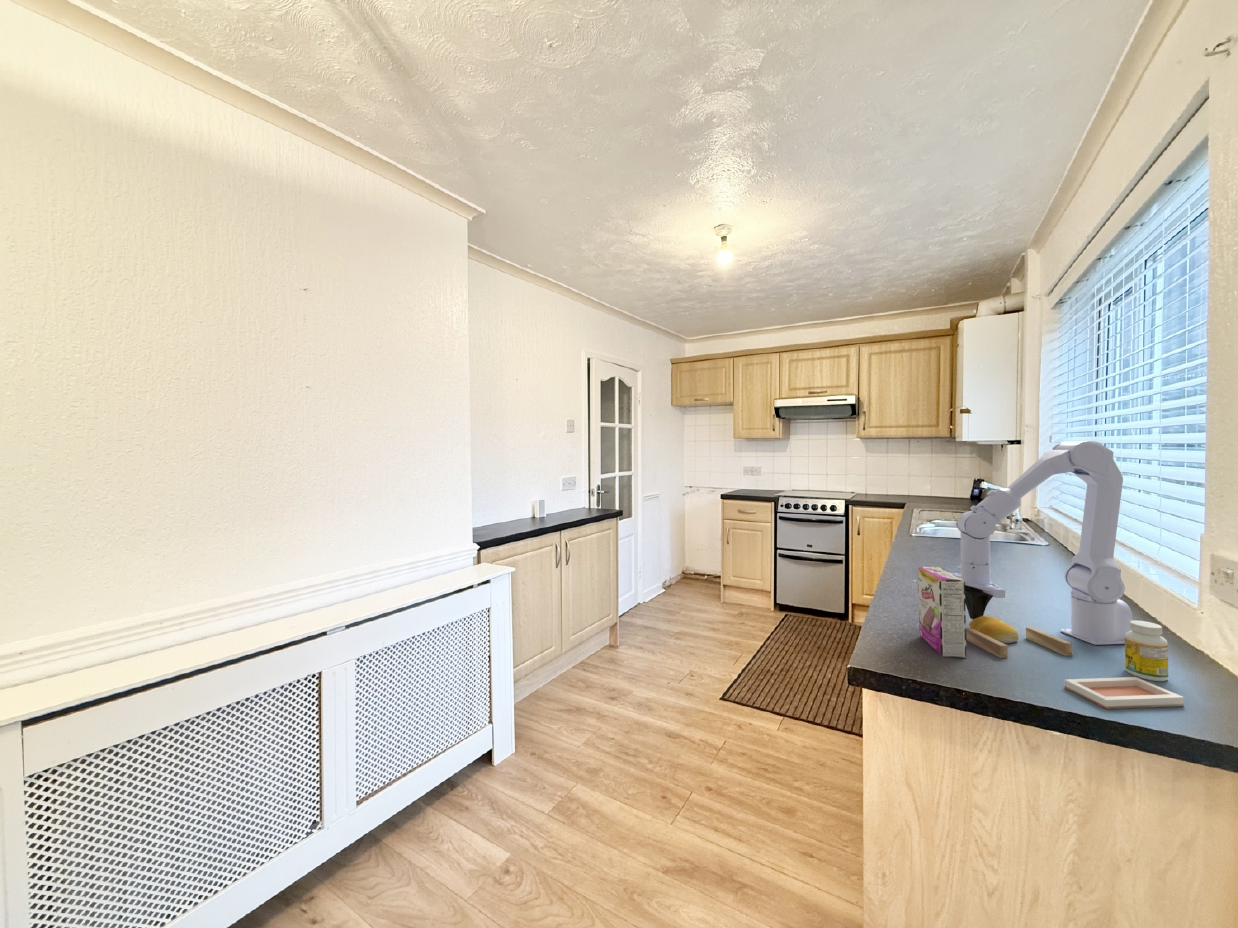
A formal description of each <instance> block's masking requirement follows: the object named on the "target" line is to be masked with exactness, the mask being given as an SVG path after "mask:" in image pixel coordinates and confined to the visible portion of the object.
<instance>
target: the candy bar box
mask: <svg viewBox="0 0 1238 928" xmlns="http://www.w3.org/2000/svg"><path fill="white" fill-rule="evenodd" d="M952 573H953V572H950V571H948V570H946V569H944V568H942V567H939V566H917V580H918V581H917V583H918V584H917V585H918V616H919V617H918V622H919V623H918V625H919V637H920V639H922V640H923V641H925V643H926V644H928V645H929V647H931V648H932V649H933V650H934V651H935V652H936V653H938V654H939V656H940V657H943V658H954V659H955V658H956V659H957V658H958V659H967V623H966V622H967V621H966V620H967V619H966V617H967V615H966V613H967V612H966V604H965V580H963V579H961V578H959V577H957V576H955V575H954V574H952Z"/></svg>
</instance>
